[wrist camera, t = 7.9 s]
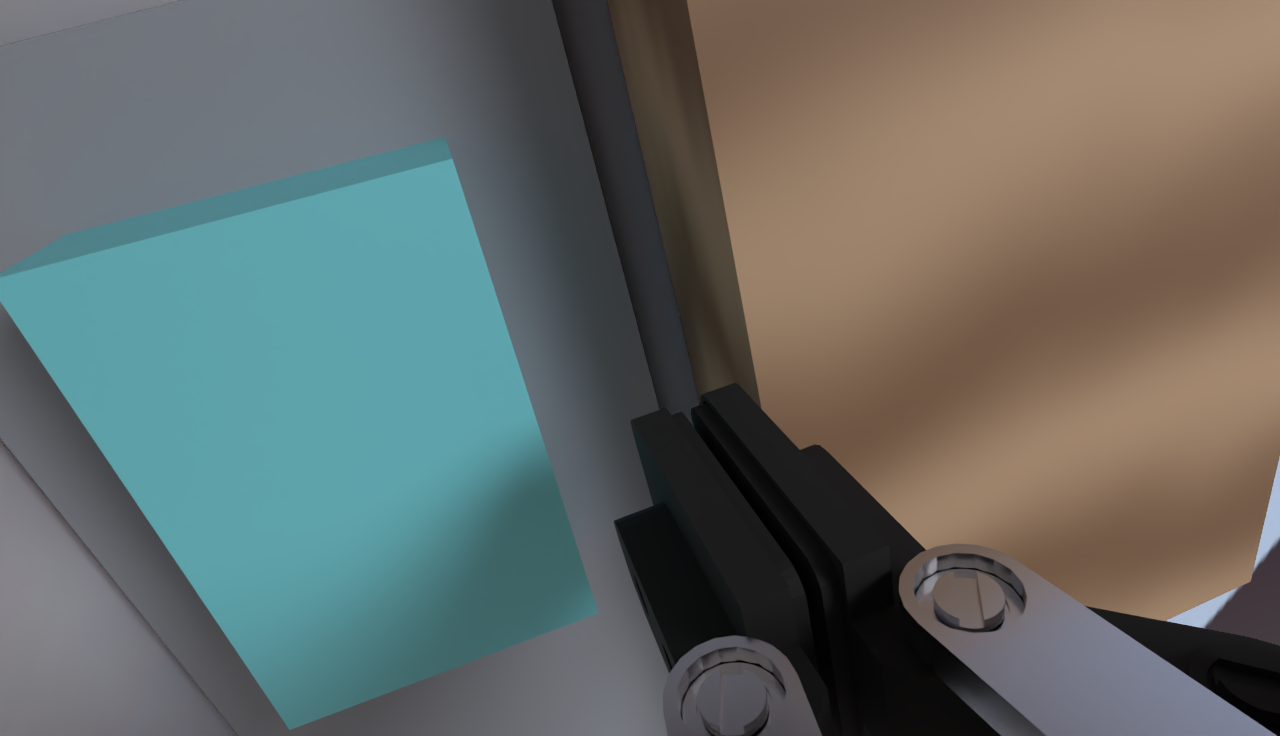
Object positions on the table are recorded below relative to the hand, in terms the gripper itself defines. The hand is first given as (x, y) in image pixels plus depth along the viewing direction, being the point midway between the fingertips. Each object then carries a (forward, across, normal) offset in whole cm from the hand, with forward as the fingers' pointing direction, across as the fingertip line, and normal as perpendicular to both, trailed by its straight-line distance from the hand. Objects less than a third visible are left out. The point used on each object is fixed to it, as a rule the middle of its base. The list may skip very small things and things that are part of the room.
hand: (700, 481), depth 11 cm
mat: (+5, +5, +2) cm, 7 cm away
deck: (+5, -8, 0) cm, 9 cm away
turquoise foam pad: (+2, +5, -1) cm, 5 cm away
